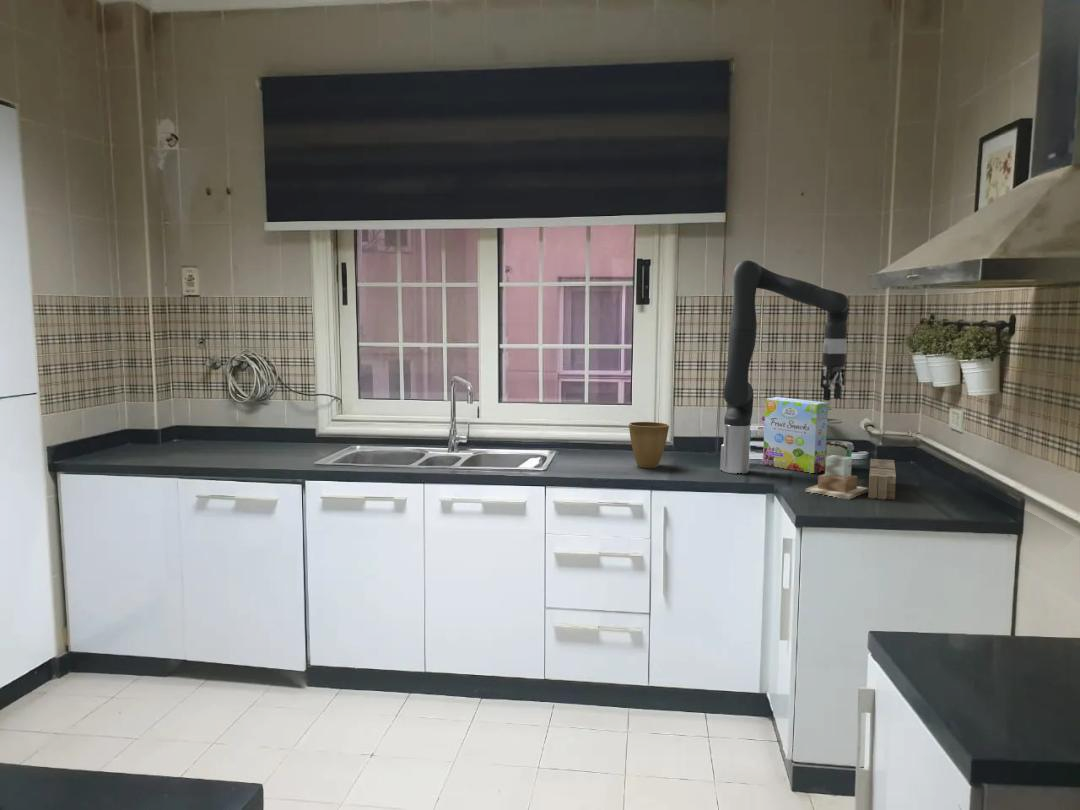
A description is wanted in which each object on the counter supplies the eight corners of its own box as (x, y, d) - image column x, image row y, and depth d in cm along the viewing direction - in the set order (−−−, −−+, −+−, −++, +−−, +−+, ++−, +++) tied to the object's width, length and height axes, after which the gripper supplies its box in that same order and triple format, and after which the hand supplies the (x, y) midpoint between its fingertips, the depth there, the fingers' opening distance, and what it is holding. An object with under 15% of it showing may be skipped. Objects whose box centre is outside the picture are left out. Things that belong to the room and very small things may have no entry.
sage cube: (824, 475, 253) (825, 457, 252) (832, 472, 257) (833, 454, 256) (843, 478, 249) (844, 459, 248) (850, 475, 253) (852, 457, 252)
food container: (860, 471, 288) (862, 444, 287) (847, 472, 286) (848, 445, 284) (836, 465, 299) (837, 439, 298) (823, 466, 297) (824, 440, 296)
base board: (805, 492, 252) (806, 475, 252) (826, 484, 264) (827, 469, 263) (848, 499, 243) (849, 482, 242) (868, 491, 254) (869, 475, 254)
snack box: (760, 465, 297) (763, 398, 294) (773, 462, 303) (776, 396, 300) (813, 474, 281) (817, 403, 278) (826, 471, 287) (829, 401, 284)
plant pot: (668, 470, 285) (669, 427, 283) (626, 469, 287) (627, 425, 285) (667, 463, 299) (669, 421, 297) (628, 461, 302) (629, 420, 300)
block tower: (894, 504, 243) (894, 482, 269) (896, 477, 242) (895, 458, 268) (866, 501, 246) (869, 480, 272) (868, 475, 245) (870, 456, 271)
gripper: (832, 351, 274) (830, 397, 276) (814, 352, 264) (812, 400, 266) (853, 351, 269) (851, 398, 271) (836, 353, 259) (834, 401, 261)
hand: (832, 399), depth 268 cm, fingers open, 8 cm apart
